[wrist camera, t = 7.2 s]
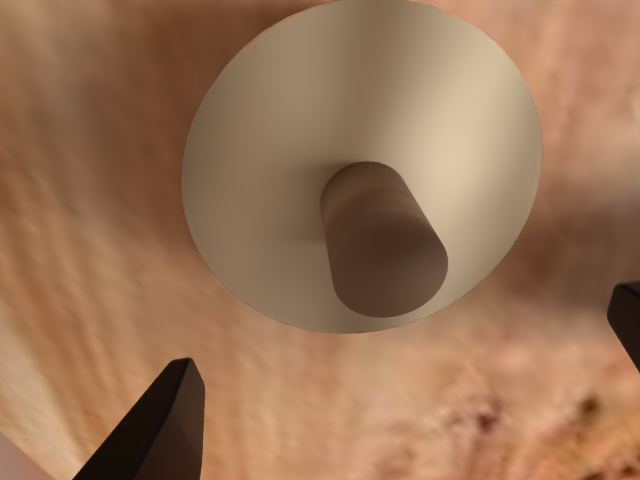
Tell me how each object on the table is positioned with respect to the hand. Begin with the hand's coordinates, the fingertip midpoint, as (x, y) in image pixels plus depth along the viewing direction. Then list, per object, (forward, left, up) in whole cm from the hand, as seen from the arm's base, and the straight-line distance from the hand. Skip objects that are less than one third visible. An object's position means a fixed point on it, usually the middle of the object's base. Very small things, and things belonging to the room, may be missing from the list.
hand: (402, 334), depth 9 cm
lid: (0, 0, -7) cm, 7 cm away
